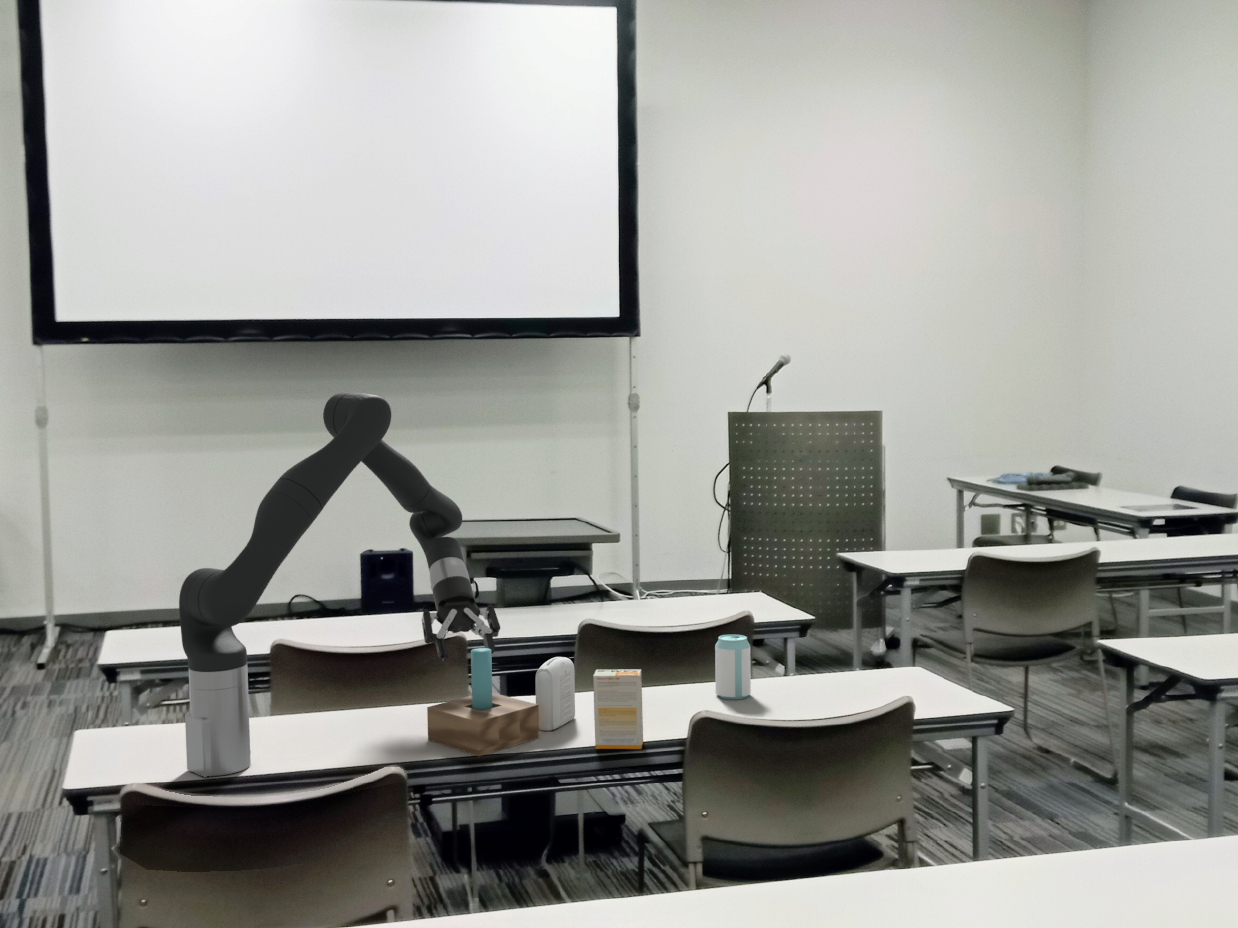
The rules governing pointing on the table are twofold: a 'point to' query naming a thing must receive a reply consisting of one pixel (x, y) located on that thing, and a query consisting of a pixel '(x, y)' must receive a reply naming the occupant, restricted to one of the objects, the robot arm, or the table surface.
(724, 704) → the table surface
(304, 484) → the robot arm
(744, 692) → the can
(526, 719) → the socket block
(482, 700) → the pin
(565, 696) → the photo printer
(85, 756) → the table surface
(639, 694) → the supplement box
